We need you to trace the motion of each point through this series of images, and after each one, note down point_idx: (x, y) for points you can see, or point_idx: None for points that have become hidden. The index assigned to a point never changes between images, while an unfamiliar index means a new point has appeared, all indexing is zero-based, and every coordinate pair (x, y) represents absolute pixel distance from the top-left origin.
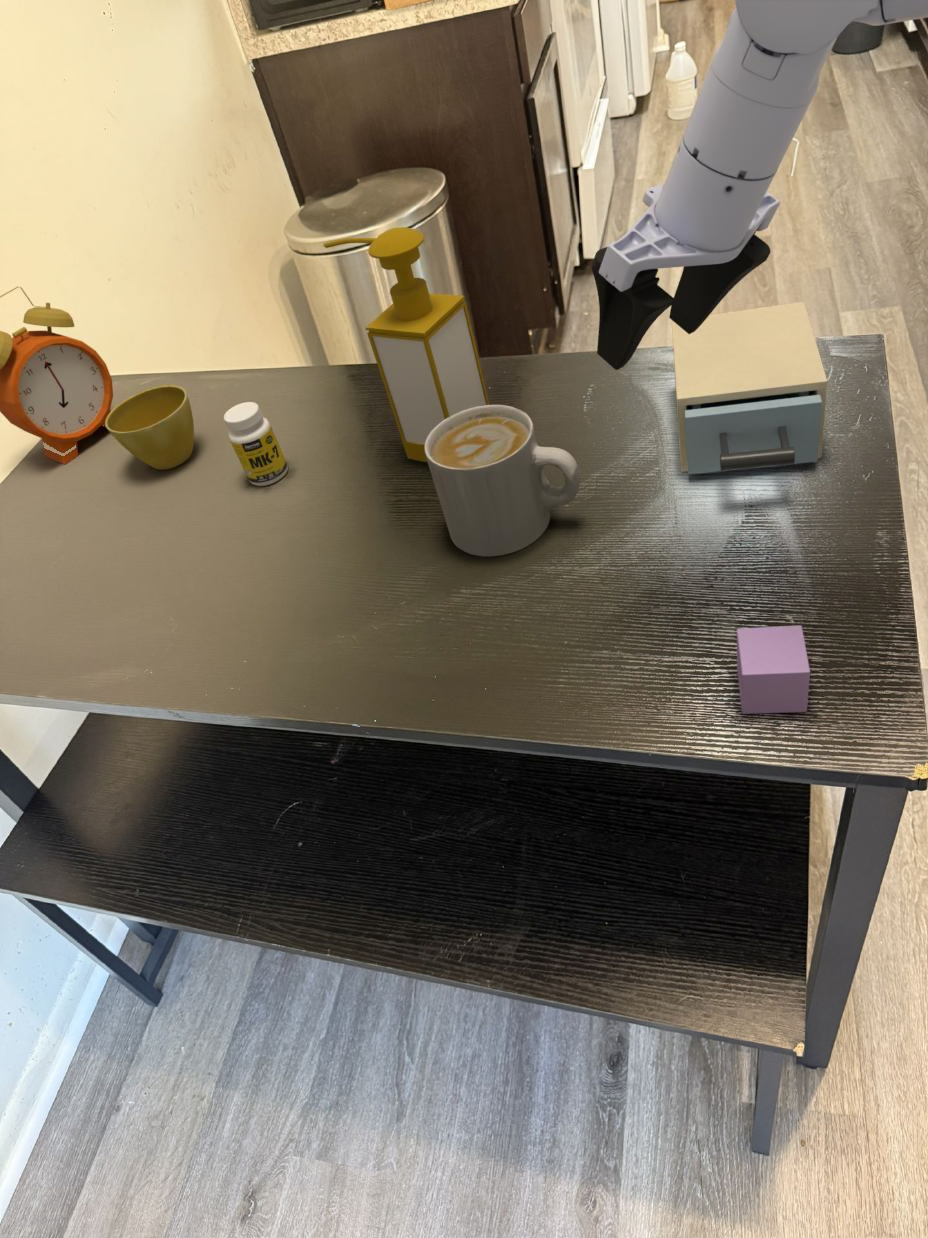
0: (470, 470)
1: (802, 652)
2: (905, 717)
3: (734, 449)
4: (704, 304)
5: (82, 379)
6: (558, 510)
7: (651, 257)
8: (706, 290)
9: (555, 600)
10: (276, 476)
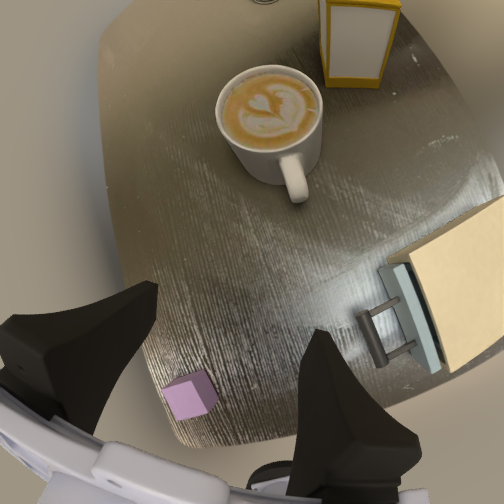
0: (219, 128)
1: (188, 416)
2: (208, 444)
3: (397, 305)
4: (302, 402)
5: None
6: (309, 182)
7: (3, 446)
8: (306, 414)
9: (216, 232)
10: (261, 1)
